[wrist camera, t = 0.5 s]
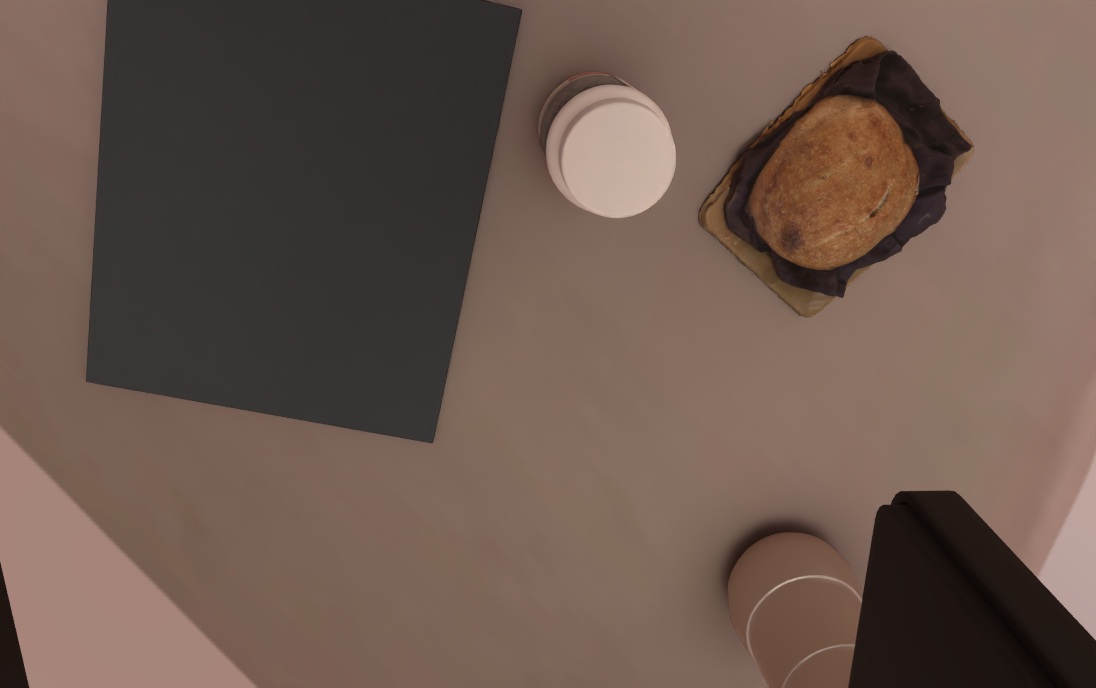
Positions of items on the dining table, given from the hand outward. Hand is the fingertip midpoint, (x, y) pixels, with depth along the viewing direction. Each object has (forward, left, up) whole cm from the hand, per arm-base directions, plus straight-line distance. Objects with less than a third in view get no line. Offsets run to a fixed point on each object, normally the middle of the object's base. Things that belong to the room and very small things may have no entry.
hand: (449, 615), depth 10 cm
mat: (+4, -8, -32) cm, 33 cm away
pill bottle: (-2, +4, -32) cm, 32 cm away
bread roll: (-2, +15, -32) cm, 35 cm away
